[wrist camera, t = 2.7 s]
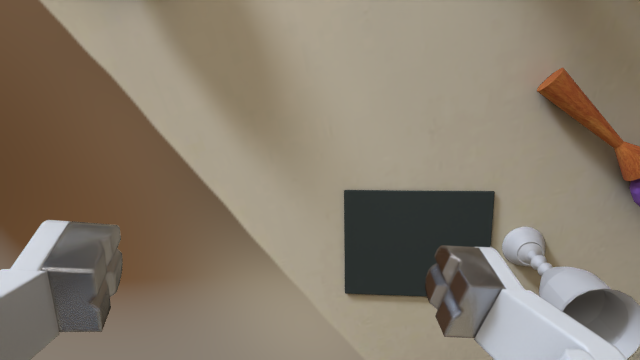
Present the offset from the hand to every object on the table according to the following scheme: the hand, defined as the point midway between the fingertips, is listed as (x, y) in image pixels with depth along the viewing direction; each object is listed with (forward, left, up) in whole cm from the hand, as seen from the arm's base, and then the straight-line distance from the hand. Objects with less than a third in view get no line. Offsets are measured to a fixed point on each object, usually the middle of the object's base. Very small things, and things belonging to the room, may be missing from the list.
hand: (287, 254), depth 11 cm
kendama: (-21, +19, -42) cm, 51 cm away
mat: (+3, +18, -42) cm, 45 cm away
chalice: (-7, +25, -42) cm, 49 cm away
